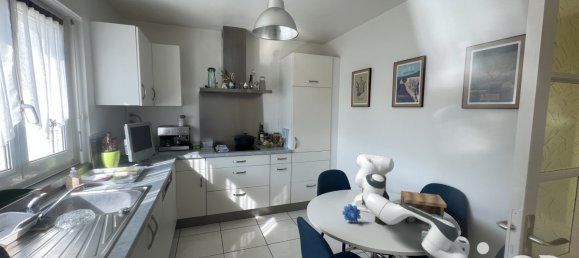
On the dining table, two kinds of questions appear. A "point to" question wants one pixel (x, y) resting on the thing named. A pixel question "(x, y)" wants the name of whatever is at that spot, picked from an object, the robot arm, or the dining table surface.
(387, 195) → the wine bottle
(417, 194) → the cubby
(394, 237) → the dining table surface
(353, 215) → the blue knobby ball
